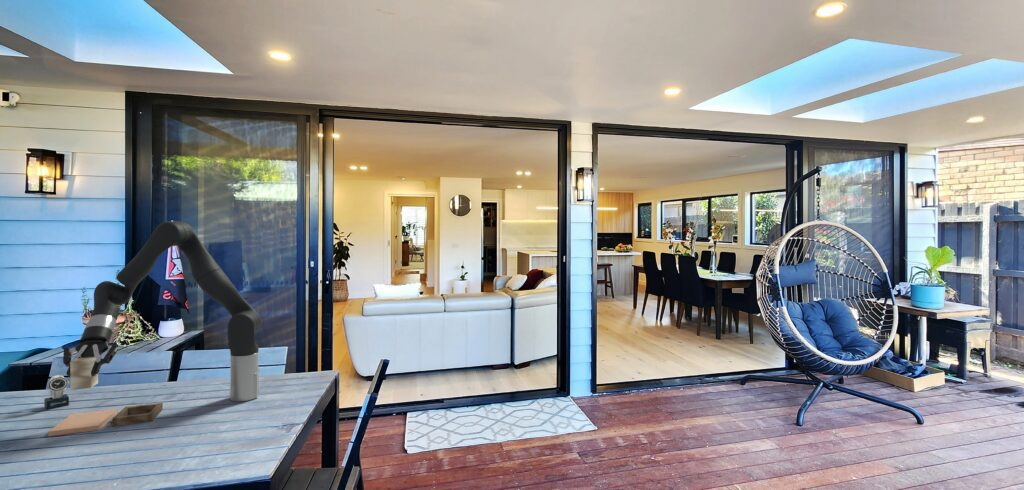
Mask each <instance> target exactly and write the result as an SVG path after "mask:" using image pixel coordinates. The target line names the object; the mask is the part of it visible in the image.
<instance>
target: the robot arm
mask: <svg viewBox="0 0 1024 490" xmlns="http://www.w3.org/2000/svg"><path fill="white" fill-rule="evenodd" d="M171 247H178V248H179V250H181V252H182V253H183V254H184V255H185V257H186V259H187V260H188V263H189V266H190V271H191V275H192V277H193V280H194V281H195V282H196V284H197V285H198V286H199V288H200V289H201V290H202V291H203V292H204V293H205V294H206V295H207V296H208V297H210V299H212V300H213V301H215V302H217V303H218V304H220V305H221V306H222V307H223V308H224V309H225V310H226V311H228V313H229V314H230V316H231V317H230V319H229V320H228V324H227V345H228V348H229V350H230V367H229V368H230V369H229V370H230V371H229V372H230V373H229V374H230V380H229V381H230V385H229V386H230V387H229V389H230V391H229V392H230V393H229V394H230V395H229V397H230V398H229V399H230V401H232V402H237V403H238V402H246V401H251V400H255V399H258V397H259V396H260V395H259V394H260V369H259V351H260V350H259V349H260V348H259V345H258V344H257V343H256V337H255V335H256V334H255V333H256V332H257V331H259V329H260V328H261V326H262V317H261V315H260V314H259V313H258V312H257V310H255V309H254V308H253V306H251V304H249V302H248V301H247V300H246V299H245V298H244V297H243V296H242V294H241V293H240V291H239V290H238V289H237V288H236V286H235V285H234V284H233V283H232V281H231V280H230V279H229V277H228V276H227V274H226V273H225V272H224V270H223V269H222V268H221V267H220V265H219V264H218V263H217V262H216V260H215V259H214V258H213V257H212V255H211V254H210V252H208V250H207V249H206V247H205V246H204V244H203V243H202V241H201V240H200V238H199V235H197V232H196V231H195V230H194V228H193V227H192V226H191V224H189V223H187V222H185V221H182V220H172V221H170V220H169V221H164V222H161V223H160V224H158V225H157V226H156V228H155V229H154V230H153V231H152V233H151V235H150V237H149V238H148V239H147V240H146V242H145V243H144V245H142V248H141V249H140V250H139V251H138V252H137V254H135V256H134V257H133V258H132V259H131V260H130V261H129V262H128V263H127V264H126V265H125V266H124V267H123V268H122V269H121V270H120V271H119V272H118V273H117V275H116V280H117V281H118V282H119V283H120V284H119V283H115V282H113V281H111V280H105V281H101V282H100V283H98V284H97V286H95V288H94V290H93V311H92V313H91V315H90V317H89V319H88V321H87V322H86V325H85V326H84V327H85V328H84V330H83V332H82V335H81V337H80V340H79V341H78V344H77V345H76V346H75V347H71V348H69V347H65V348H64V349H63V355H62V357H63V358H62V363H63V365H64V366H65V367H67V368H68V369H67V371H66V375H67V376H68V378H70V362H72V361H73V360H75V359H79V358H84V357H95V358H96V360H95V361H96V363H94V365H93V368H92V371H91V375H92V376H96V374H98V375H99V373H100V371H101V367H102V366H103V365H106V364H110V363H111V361H112V360H113V359H114V357H115V356H116V354H118V351H119V347H118V345H117V344H113V345H110V342H111V340H112V336H113V334H114V332H115V329H116V323H117V321H118V317H119V314H120V311H121V310H120V307H119V306H122V305H123V306H124V305H125V304H127V303H128V302H129V301H131V298H132V296H133V295H134V294H133V293H134V292H135V290H136V288H137V286H138V285H139V284H140V283H141V282H142V281H143V280H144V279H145V278H146V277H147V276H148V275H149V274H150V273H151V271H152V270H153V268H154V265H156V262H157V260H158V259H159V257H160V256H161V255H162V254H163V253H164V252H166V251H167V250H168V249H169V248H171ZM106 351H107V352H106ZM75 352H76V354H75ZM105 352H106V354H105V355H104V357H103V355H102V354H104V353H105ZM74 354H75V355H74ZM73 355H74V357H73V358H72V356H73Z"/></svg>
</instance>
